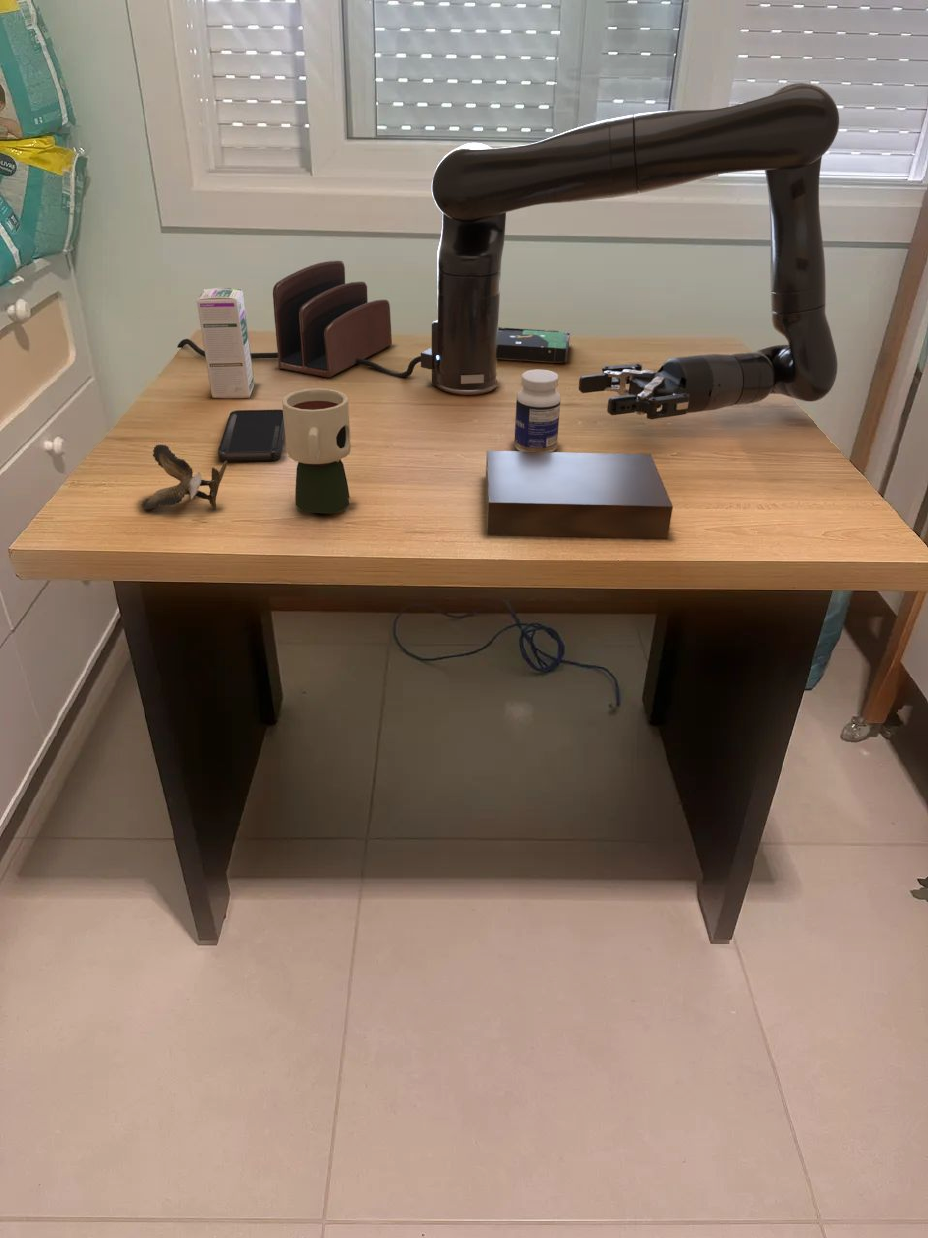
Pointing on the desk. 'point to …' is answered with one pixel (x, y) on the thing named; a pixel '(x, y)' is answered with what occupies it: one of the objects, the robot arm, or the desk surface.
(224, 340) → the syrup box
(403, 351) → the desk surface
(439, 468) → the desk surface
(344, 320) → the letter holder
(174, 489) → the eagle figurine
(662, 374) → the robot arm
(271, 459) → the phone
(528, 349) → the disk drive
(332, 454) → the character mug
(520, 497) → the walnut stand
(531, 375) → the pill bottle
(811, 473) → the desk surface
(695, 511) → the desk surface
